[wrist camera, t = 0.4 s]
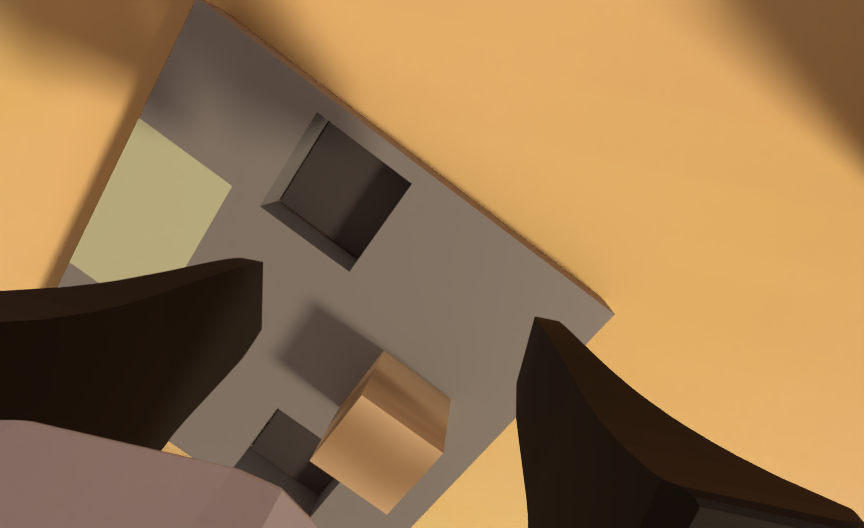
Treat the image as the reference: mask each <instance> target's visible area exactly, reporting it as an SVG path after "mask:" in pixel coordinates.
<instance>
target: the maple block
mask: <svg viewBox="0 0 864 528" xmlns="http://www.w3.org/2000/svg"><path fill="white" fill-rule="evenodd" d="M450 401H451V398H449V397H448V396H446V395H445V394H444V393H442V392H441V391H439V390H438V389H437V388H435V387H434V386H433V385H431V384H430V383H428V382H427V381H426V380H424V379H423V378H422V377H420V376H419V375H417V374H416V373H415V372H413V371H412V370H410V369H409V368H408V367H406V366H405V365H404V364H402V363H401V362H399V361H398V360H397V359H395V358H394V357H393V356H391V355H390V354H388V353H387V352H386V351H383V352H382V354H381V355H380V356H379V357H378V359H377V360H376V361H375V362H374V364H373V365H372V366H371V368H370V369H369V370H368V371H367V373H366V374H365V375H364V376H363V378H362V379H361V380H360V382H359V383H358V384H357V385H356V387H355V388H354V389H353V390H352V392H351V393H350V394H349V395H348V397H347V398H346V399H345V401H344V402H343V403H342V404H341V406H340V407H339V409H338V410H337V412H336V414H335V416H334V418H333V419H332V421H331V423H330V425H329V427H328V428H327V430H326V432H325V434H324V436H323V437H322V439H321V441H320V443H319V444H318V446H317V448H316V450H315V452H314V453H313V455H312V457H311V459H310V462H312V463H313V464H315V465H316V466H318V467H319V468H321V469H322V470H323V471H325V472H326V473H328V474H329V475H331V476H332V477H333V478H335V479H336V480H338V481H339V482H341V483H342V484H344V485H345V486H346V487H348V488H349V489H351V490H352V491H354V492H355V493H356V494H358V495H359V496H361V497H362V498H364V499H365V500H367V501H368V502H369V503H371V504H372V505H374V506H375V507H377V508H378V509H379V510H381V511H382V512H384V513H385V514H388V513H389V512H390V511H391V510H392V509H393V508H394V506H395V505H396V504H397V503H398V502H399V501H400V500H401V499H402V498H403V497H404V496H405V494H406V493H407V492H408V491H409V490H410V489H411V488H412V487H413V486H414V485H415V484H416V483H417V481H418V480H419V479H420V478H421V477H422V476H423V475H424V474H425V473H426V472H427V471H428V469H429V468H430V467H431V466H432V465H433V464H434V463H435V462H436V461H437V460H438V459H439V458H440V456H441V455H442V454H443V452H444V445H445V438H446V430H447V423H448V416H449V408H450Z"/></svg>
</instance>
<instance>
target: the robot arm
mask: <svg viewBox="0 0 864 528" xmlns="http://www.w3.org/2000/svg"><path fill="white" fill-rule="evenodd" d="M262 297H263V262H261V261H256V260H251V259H246V258H230V259H223V260H217V261H212V262H207V263H202V264H197V265H193V266H188V267H183V268H179V269H174V270H169V271H165V272H159V273H154V274H149V275H143V276H138V277H133V278H127V279H122V280H116V281H109V282H102V283H95V284H86V285H78V286H69V287H58V288H43V289H27V290H11V291H0V528H317V526H316V525H315V523H314V522H313V520H312V519H311V518H310V517H309V516H308V515H307V514H306V513H305V512H304V511H303V510H302V509H301V507H300V506H299V505H298V504H297V503H296V502H295V501H294V500H293V499H292V498H291V497H290V496H289V495H288V494H287V493H286V492H285V491H284V490H283V489H282V488H281V487H279V486H276V485H274V484H272V483H269V482H267V481H265V480H263V479H260V478H258V477H256V476H254V475H251V474H249V473H247V472H244V471H242V470H240V469H237V468H233V467H229V466H224V465H220V464H216V463H211V462H207V461H203V460H198V459H194V458H189V457H185V456H181V455H176V454H172V453H168V452H163V451H161V450H162V449H163V448H164V446H165V445H166V444H167V442H168V441H169V439H170V438H171V437H172V436H173V434H174V433H175V432H176V431H177V430H178V428H179V427H180V426H181V425H182V424H183V423H184V421H185V420H186V419H187V418H188V417H189V416H190V415H191V414H192V413H193V412H194V411H195V409H196V408H197V407H198V406H199V405H200V404H201V403H202V402H203V401H204V400H205V399H206V398H207V397H208V395H209V394H210V393H211V392H212V391H213V390H214V389H215V388H216V387H217V386H218V385H219V384H220V383H221V381H222V380H223V379H224V378H225V377H226V376H227V375H228V374H229V373H230V372H231V371H232V369H233V368H234V367H235V366H236V365H237V364H238V363H239V362H240V360H241V359H242V358H243V357H244V355H245V354H246V353H247V351H248V350H249V348H250V347H251V345H252V344H253V342H254V341H255V339H256V338H257V336H258V335H259V333H260V332H261V330H262ZM516 420H517V429H518V437H519V445H520V452H521V460H522V468H523V475H524V483H525V490H526V499H527V511H528V528H864V522H863V521H862V520H861V518H860V517H859V516H858V515H857V514H856V513H855V512H854V511H853V510H852V509H850V508H848V507H846V506H843V505H841V504H839V503H837V502H834V501H832V500H830V499H828V498H825V497H823V496H821V495H819V494H816V493H814V492H812V491H809V490H807V489H805V488H803V487H800V486H798V485H796V484H794V483H791V482H789V481H787V480H785V479H782V478H780V477H778V476H776V475H774V474H772V473H770V472H768V471H766V470H764V469H762V468H760V467H758V466H756V465H754V464H752V463H750V462H748V461H746V460H744V459H742V458H740V457H738V456H736V455H735V454H733V453H731V452H729V451H727V450H726V449H724V448H722V447H720V446H718V445H716V444H715V443H713V442H711V441H710V440H708V439H706V438H705V437H703V436H701V435H700V434H698V433H696V432H695V431H693V430H691V429H690V428H688V427H686V426H685V425H683V424H682V423H680V422H679V421H677V420H676V419H674V418H672V417H671V416H669V415H668V414H666V413H665V412H664V411H662V410H661V409H660V408H658V407H657V406H655V405H654V404H653V403H651V402H650V401H648V400H647V399H646V398H644V397H643V396H642V395H640V394H639V393H638V392H636V391H635V390H634V389H633V388H631V387H630V386H629V385H628V384H627V383H625V382H624V381H623V380H622V379H621V378H620V377H618V376H617V375H616V374H615V373H614V372H613V371H611V370H610V369H609V368H608V367H607V366H606V365H605V364H604V363H603V362H602V361H601V360H600V359H598V358H597V357H596V356H595V355H594V354H593V353H592V352H591V351H590V350H589V349H588V348H587V347H586V346H585V345H584V344H583V343H582V342H581V341H580V340H579V339H578V338H577V337H576V336H575V335H574V334H573V333H572V332H571V331H570V330H569V329H568V328H567V327H566V326H564V325H563V324H562V323H561V322H559V321H556V320H551V319H546V318H541V317H536V316H535V318H534V321H533V325H532V328H531V332H530V336H529V339H528V343H527V346H526V350H525V354H524V357H523V361H522V365H521V368H520V372H519V375H518V379H517V383H516Z"/></svg>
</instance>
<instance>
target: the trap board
mask: <svg viewBox="0 0 864 528" xmlns="http://www.w3.org/2000/svg"><path fill="white" fill-rule="evenodd" d="M328 121H329V123H328ZM327 123H328V125H327ZM326 125H327V126H326ZM325 126H326V128H325ZM324 128H325V130H324ZM323 130H324V131H323ZM322 131H323V133H322ZM321 133H322V134H321ZM320 134H321V136H320ZM319 136H320V138H319ZM318 138H319V139H318ZM317 139H318V141H317ZM316 141H317V142H316ZM315 142H316V144H315ZM314 144H315V146H314ZM313 146H314V147H313ZM312 147H313V149H312ZM311 149H312V151H311ZM310 151H311V152H310ZM309 152H310V154H309ZM308 154H309V155H308ZM307 155H308V157H307ZM306 157H307V159H306ZM305 159H306V160H305ZM304 160H305V162H304ZM303 162H304V163H303ZM302 163H303V165H302ZM301 165H302V167H301ZM300 167H301V168H300ZM299 168H300V170H299ZM298 170H299V171H298ZM297 172H298V173H297ZM296 173H297V175H296ZM295 175H296V176H295ZM294 176H295V178H294ZM293 178H294V180H293ZM292 180H293V181H292ZM291 181H292V183H291ZM290 183H291V184H290ZM289 184H290V186H289ZM288 186H289V188H288ZM287 188H288V189H287ZM286 189H287V191H286ZM285 191H286V192H285ZM284 193H285V194H284ZM283 194H284V196H283ZM282 196H283V197H282ZM281 197H282V199H281ZM280 199H281V202H282V203H281V202H280ZM284 204H285V205H286V206H285V205H284ZM288 207H289V208H290V209H289V208H288ZM292 210H293V211H294V212H293V211H292ZM295 212H296V213H297V214H296V213H295ZM299 215H300V216H301V217H300V216H299ZM303 218H304V219H305V220H304V219H303ZM307 221H308V222H309V223H308V222H307ZM310 223H311V224H312V225H313V226H312V225H311V224H310ZM314 226H315V227H316V228H315V227H314ZM318 229H319V230H320V231H319V230H318ZM322 232H323V233H324V234H323V233H322ZM326 235H327V236H328V237H327V236H326ZM329 237H330V238H331V239H332V240H331V239H330V238H329ZM333 240H334V241H335V242H334V241H333ZM337 243H338V244H339V245H338V244H337ZM341 246H342V247H343V248H342V247H341ZM345 249H346V250H347V251H346V250H345ZM348 251H349V252H350V253H349V252H348ZM352 254H353V255H354V256H353V255H352ZM356 257H357V258H358V259H357V258H356ZM230 258H246V259H251V260H256V261H261V262H263V297H262V330H261V332H260V333H259V335H258V336H257V338H256V339H255V341H254V342H253V344H252V345H251V347H250V348H249V350H248V351H247V353H246V354H245V355H244V357H243V358H242V359H241V360H240V362H239V363H238V364H237V365H236V366H235V367H234V368H233V369H232V371H231V372H230V373H229V374H228V375H227V376H226V377H225V378H224V379H223V380H222V381H221V383H220V384H219V385H218V386H217V387H216V388H215V389H214V390H213V391H212V392H211V393H210V394H209V395H208V397H207V398H206V399H205V400H204V401H203V402H202V403H201V404H200V405H199V406H198V407H197V408H196V409H195V411H194V412H193V413H192V414H191V415H190V416H189V417H188V418H187V419H186V420H185V421H184V423H183V424H182V425H181V426H180V427H179V428H178V430H177V431H176V432H175V433H174V434H173V436H172V437H171V438H170V439H169V442H171V443H172V444H174V445H175V446H177V447H178V448H180V449H181V450H183V451H184V452H185V453H187V454H188V455H190V456H191V457H193V458H194V459H198V460H203V461H207V462H211V463H216V464H220V465H224V466H229V467H233V468H237V469H240V470H242V471H244V472H247V473H249V474H251V475H254V476H256V477H258V478H260V479H263V480H265V481H267V482H269V483H272V484H274V485H276V486H279V487H281V488H282V489H283V490H284V491H285V492H286V493H287V494H288V495H289V496H290V497H291V498H292V499H293V500H294V501H295V502H296V503H297V504H298V505H299V506H300V507H301V509H302V510H303V511H304V512H305V513H306V514H307V515H308V516H309V517H310V518H311V519H312V520H313V522H314V523H315V525H316V526H317V528H411V527H412V526H413V525H414V524H415V523H416V522H417V520H418V519H419V518H420V517H421V516H422V515H423V514H424V513H425V512H426V511H427V510H428V509H429V508H430V507H431V506H432V505H433V504H434V503H435V502H436V501H437V500H438V499H439V497H440V496H441V495H442V494H443V493H444V492H445V491H446V490H447V489H448V488H449V487H450V486H451V485H452V484H453V483H454V482H455V481H456V480H457V479H458V478H459V477H460V475H461V474H462V473H463V472H464V471H465V470H466V469H467V468H468V467H469V466H470V465H471V464H472V463H473V462H474V461H475V460H476V459H477V458H478V457H479V456H480V455H481V454H482V452H483V451H484V450H485V449H486V448H487V447H488V446H489V445H490V444H491V443H492V442H493V441H494V440H495V439H496V438H497V437H498V436H499V435H500V434H501V433H502V432H503V430H504V429H505V428H506V427H507V426H508V425H509V424H510V423H511V422H512V421H513V420H514V419H515V418H516V383H517V379H518V375H519V372H520V368H521V365H522V361H523V357H524V354H525V350H526V346H527V343H528V339H529V336H530V332H531V328H532V325H533V321H534V318H535V316H536V317H541V318H546V319H551V320H556V321H559V322H561V323H562V324H563V325H564V326H566V327H567V328H568V329H569V330H570V331H571V332H572V333H573V334H574V335H575V336H576V337H577V338H578V339H579V340H580V341H581V342H582V343H583V344H584V345H586V344H587V343H588V342H589V340H590V339H591V338H592V337H593V336H594V335H595V334H596V333H597V332H598V331H599V330H600V329H601V328H602V327H603V326H604V325H605V324H606V323H607V322H608V321H609V320H610V319H611V317H612V316H613V315H614V313H613V311H612V310H611V309H610V308H609V306H608V305H607V304H606V302H605V301H604V300H603V299H602V298H601V297H600V296H598V295H597V294H596V293H594V292H593V291H592V290H590V289H589V288H588V287H586V286H585V285H584V284H582V283H581V282H580V281H578V280H577V279H576V278H575V277H573V276H572V275H571V274H569V273H568V272H567V271H565V270H564V269H563V268H561V267H560V266H559V265H557V264H556V263H555V262H554V261H552V260H551V259H550V258H548V257H547V256H546V255H544V254H543V253H542V252H540V251H539V250H538V249H536V248H535V247H534V246H532V245H531V244H530V243H529V242H527V241H526V240H525V239H523V238H522V237H521V236H519V235H518V234H517V233H515V232H514V231H513V230H511V229H510V228H509V227H507V226H506V225H505V224H504V223H502V222H501V221H500V220H498V219H497V218H496V217H494V216H493V215H492V214H490V213H489V212H488V211H486V210H485V209H484V208H483V207H481V206H480V205H479V204H477V203H476V202H475V201H473V200H472V199H471V198H469V197H468V196H467V195H465V194H464V193H463V192H461V191H460V190H459V189H458V188H456V187H455V186H454V185H452V184H451V183H450V182H448V181H447V180H446V179H444V178H443V177H442V176H440V175H439V174H438V173H437V172H435V171H434V170H433V169H431V168H430V167H429V166H427V165H426V164H425V163H423V162H422V161H421V160H419V159H418V158H417V157H415V156H414V155H413V154H412V153H410V152H409V151H408V150H406V149H405V148H404V147H402V146H401V145H400V144H398V143H397V142H396V141H394V140H393V139H392V138H391V137H389V136H388V135H387V134H385V133H384V132H383V131H381V130H380V129H379V128H377V127H376V126H375V125H373V124H372V123H371V122H369V121H368V120H367V119H366V118H364V117H363V116H362V115H360V114H359V113H358V112H356V111H355V110H354V109H352V108H351V107H350V106H348V105H347V104H346V103H344V102H343V101H342V100H341V99H339V98H338V97H337V96H335V95H334V94H333V93H331V92H330V91H329V90H327V89H326V88H325V87H323V86H322V85H321V84H320V83H318V82H317V81H316V80H314V79H313V78H312V77H310V76H309V75H308V74H306V73H305V72H304V71H302V70H301V69H300V68H298V67H297V66H296V65H295V64H293V63H292V62H291V61H289V60H288V59H287V58H285V57H284V56H283V55H281V54H280V53H279V52H277V51H276V50H275V49H274V48H272V47H271V46H270V45H268V44H267V43H266V42H264V41H263V40H262V39H260V38H259V37H258V36H256V35H255V34H254V33H252V32H251V31H250V30H249V29H247V28H246V27H245V26H243V25H242V24H241V23H239V22H238V21H237V20H235V19H234V18H233V17H231V16H230V15H229V14H228V13H226V12H225V11H223V10H221V9H219V8H217V7H215V6H213V5H211V4H210V3H208V2H206V1H204V0H196V1H195V3H194V5H193V7H192V9H191V11H190V13H189V15H188V17H187V19H186V21H185V23H184V25H183V28H182V30H181V32H180V34H179V36H178V38H177V40H176V42H175V44H174V46H173V48H172V50H171V52H170V55H169V57H168V59H167V61H166V63H165V65H164V67H163V69H162V71H161V73H160V75H159V77H158V79H157V81H156V84H155V86H154V88H153V90H152V92H151V94H150V96H149V98H148V100H147V102H146V104H145V106H144V108H143V111H142V113H141V115H140V117H139V119H138V121H137V123H136V125H135V127H134V129H133V131H132V133H131V135H130V137H129V140H128V142H127V144H126V146H125V148H124V150H123V152H122V154H121V156H120V158H119V160H118V162H117V164H116V167H115V169H114V171H113V173H112V175H111V177H110V179H109V181H108V183H107V185H106V187H105V189H104V191H103V193H102V196H101V198H100V200H99V202H98V204H97V206H96V208H95V210H94V212H93V214H92V216H91V218H90V220H89V223H88V225H87V227H86V229H85V231H84V233H83V235H82V237H81V239H80V241H79V243H78V245H77V247H76V249H75V252H74V254H73V256H72V258H71V260H70V262H69V264H68V266H67V268H66V270H65V272H64V274H63V276H62V279H61V281H60V283H59V285H58V287H69V286H78V285H86V284H95V283H102V282H109V281H116V280H122V279H127V278H133V277H138V276H143V275H149V274H154V273H159V272H165V271H169V270H174V269H179V268H183V267H188V266H193V265H197V264H202V263H207V262H212V261H217V260H223V259H230ZM58 287H57V288H58ZM383 351H386V352H387V353H388V354H390V355H391V356H393V357H394V358H395V359H397V360H398V361H399V362H401V363H402V364H404V365H405V366H406V367H408V368H409V369H410V370H412V371H413V372H415V373H416V374H417V375H419V376H420V377H422V378H423V379H424V380H426V381H427V382H428V383H430V384H431V385H433V386H434V387H435V388H437V389H438V390H439V391H441V392H442V393H444V394H445V395H446V396H448V397H449V398H451V401H450V408H449V416H448V423H447V430H446V438H445V445H444V452H443V454H442V455H441V456H440V458H439V459H438V460H437V461H436V462H435V463H434V464H433V465H432V466H431V467H430V468H429V469H428V471H427V472H426V473H425V474H424V475H423V476H422V477H421V478H420V479H419V480H418V481H417V483H416V484H415V485H414V486H413V487H412V488H411V489H410V490H409V491H408V492H407V493H406V494H405V496H404V497H403V498H402V499H401V500H400V501H399V502H398V503H397V504H396V505H395V506H394V508H393V509H392V510H391V511H390V512H389V513H388V514H385V513H384V512H382V511H381V510H379V509H378V508H377V507H375V506H374V505H372V504H371V503H369V502H368V501H367V500H365V499H364V498H362V497H361V496H359V495H358V494H356V493H355V492H354V491H352V490H351V489H349V488H348V487H346V486H345V485H344V484H342V483H341V482H339V481H338V480H336V479H335V478H333V477H332V476H331V475H329V474H328V473H326V472H325V471H323V470H322V469H321V468H319V467H318V466H316V465H315V464H313V463H312V462H310V459H311V457H312V455H313V453H314V452H315V450H316V448H317V446H318V444H319V443H320V441H321V439H322V437H323V436H324V434H325V432H326V430H327V428H328V427H329V425H330V423H331V421H332V419H333V418H334V416H335V414H336V412H337V410H338V409H339V407H340V406H341V404H342V403H343V402H344V401H345V399H346V398H347V397H348V395H349V394H350V393H351V392H352V390H353V389H354V388H355V387H356V385H357V384H358V383H359V382H360V380H361V379H362V378H363V376H364V375H365V374H366V373H367V371H368V370H369V369H370V368H371V366H372V365H373V364H374V362H375V361H376V360H377V359H378V357H379V356H380V355H381V354H382V352H383ZM277 409H279V410H278V412H277V413H276V414H275V416H274V417H273V418H272V420H271V421H270V423H269V424H268V425H267V427H266V428H265V429H264V431H263V432H262V433H261V435H260V436H259V437H258V439H257V440H256V442H255V443H254V444H253V446H252V447H251V444H252V443H253V442H254V440H255V439H256V437H257V436H258V435H259V433H260V432H261V431H262V429H263V428H264V427H265V425H266V424H267V422H268V421H269V420H270V418H271V417H272V416H273V414H274V413H275V412H276V410H277ZM332 478H333V479H332ZM331 479H332V480H331ZM330 480H331V482H330V483H329V484H328V482H329V481H330ZM327 484H328V485H327ZM326 485H327V486H326ZM325 486H326V488H325V489H324V490H323V488H324V487H325ZM322 490H323V491H322ZM321 491H322V492H321ZM320 492H321V493H320ZM319 493H320V494H319Z"/></svg>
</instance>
